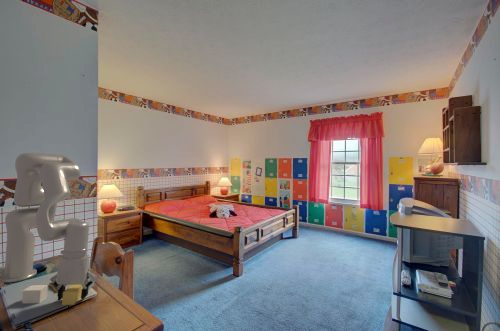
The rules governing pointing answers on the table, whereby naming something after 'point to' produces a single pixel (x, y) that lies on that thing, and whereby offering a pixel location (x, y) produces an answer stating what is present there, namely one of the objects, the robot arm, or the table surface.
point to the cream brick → (35, 294)
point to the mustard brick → (72, 294)
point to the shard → (54, 286)
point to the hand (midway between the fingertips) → (72, 297)
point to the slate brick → (91, 284)
